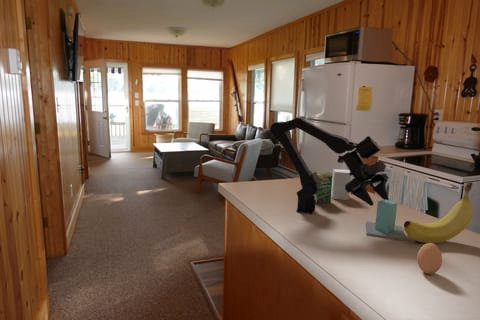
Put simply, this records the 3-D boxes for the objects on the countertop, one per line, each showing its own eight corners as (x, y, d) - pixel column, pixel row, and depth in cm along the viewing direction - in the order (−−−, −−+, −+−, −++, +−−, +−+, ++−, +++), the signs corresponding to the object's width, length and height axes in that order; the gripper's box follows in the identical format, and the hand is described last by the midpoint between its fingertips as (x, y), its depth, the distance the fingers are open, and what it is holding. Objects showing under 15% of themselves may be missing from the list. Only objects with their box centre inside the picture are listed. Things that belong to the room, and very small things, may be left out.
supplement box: (348, 200, 154) (351, 173, 152) (331, 198, 156) (334, 171, 153) (347, 195, 161) (349, 169, 159) (331, 194, 163) (333, 168, 161)
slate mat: (366, 234, 115) (366, 233, 115) (365, 223, 126) (366, 221, 126) (405, 240, 111) (405, 238, 111) (401, 227, 122) (401, 226, 122)
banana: (407, 246, 107) (415, 184, 103) (397, 238, 113) (404, 180, 109) (472, 244, 110) (482, 184, 106) (459, 236, 116) (468, 179, 112)
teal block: (374, 228, 119) (377, 201, 117) (382, 226, 122) (385, 199, 120) (386, 233, 116) (390, 204, 114) (394, 230, 118) (397, 202, 116)
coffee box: (316, 204, 147) (318, 174, 144) (312, 202, 149) (314, 173, 147) (331, 202, 150) (333, 173, 148) (326, 200, 153) (329, 172, 150)
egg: (429, 280, 87) (434, 249, 86) (410, 269, 92) (414, 240, 91) (445, 276, 89) (449, 246, 88) (425, 266, 94) (429, 237, 93)
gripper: (355, 155, 115) (381, 195, 108) (386, 151, 125) (412, 187, 119) (334, 173, 122) (357, 211, 116) (365, 168, 133) (388, 203, 126)
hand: (380, 203), depth 119 cm, fingers open, 9 cm apart
